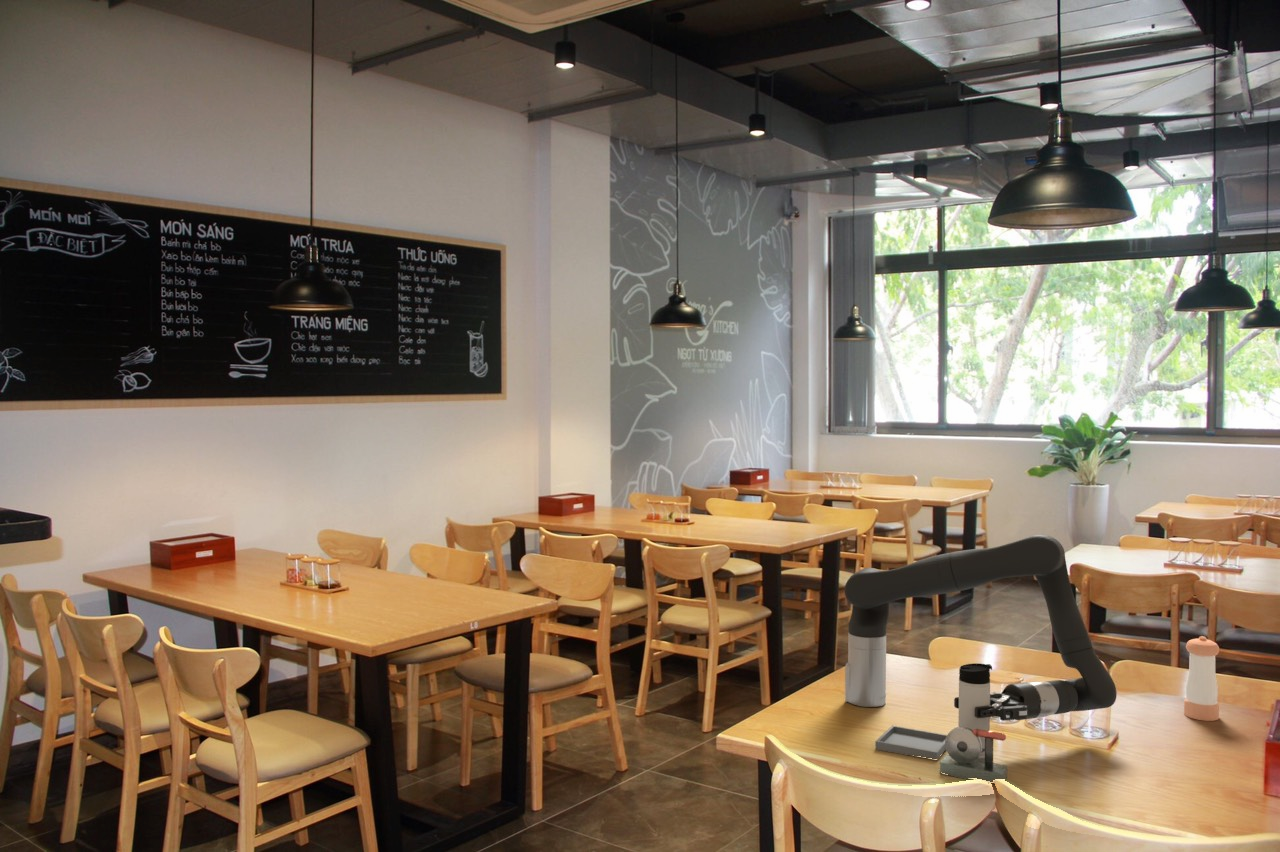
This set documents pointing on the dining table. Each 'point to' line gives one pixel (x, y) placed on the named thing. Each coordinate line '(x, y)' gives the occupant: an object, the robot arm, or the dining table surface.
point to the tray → (912, 742)
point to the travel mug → (974, 698)
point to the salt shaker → (1202, 680)
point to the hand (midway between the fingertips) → (965, 707)
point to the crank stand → (971, 755)
